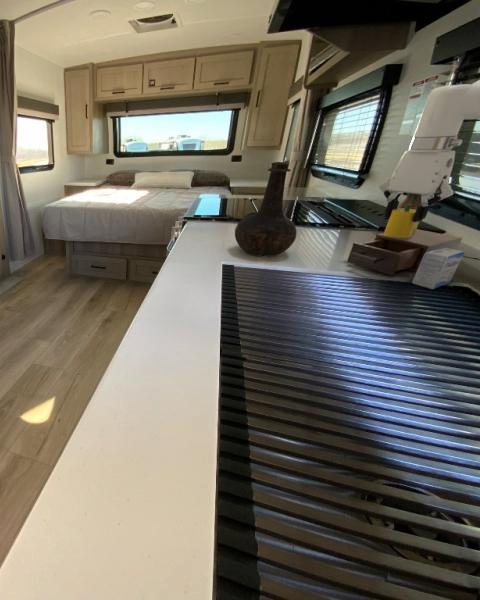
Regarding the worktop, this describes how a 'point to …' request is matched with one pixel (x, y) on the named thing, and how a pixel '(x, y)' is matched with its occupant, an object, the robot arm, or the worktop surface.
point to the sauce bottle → (412, 203)
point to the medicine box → (437, 267)
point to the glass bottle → (268, 220)
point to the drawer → (384, 255)
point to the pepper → (401, 223)
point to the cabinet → (425, 242)
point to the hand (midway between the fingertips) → (403, 218)
